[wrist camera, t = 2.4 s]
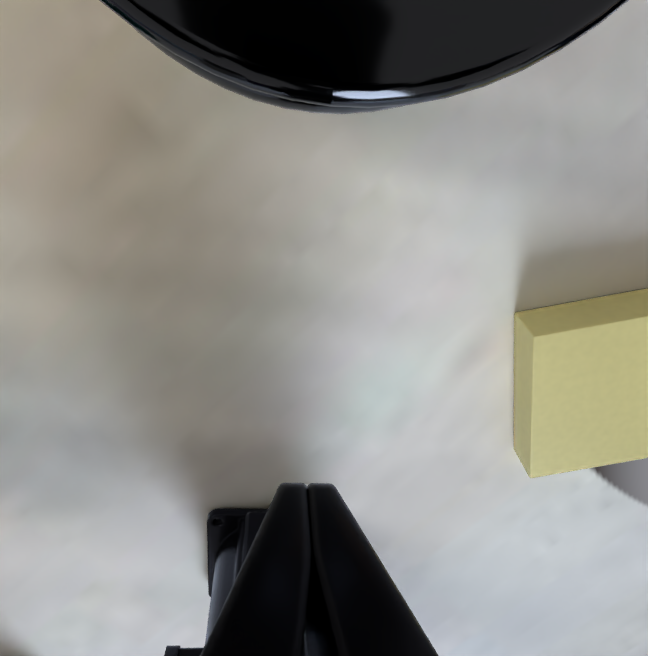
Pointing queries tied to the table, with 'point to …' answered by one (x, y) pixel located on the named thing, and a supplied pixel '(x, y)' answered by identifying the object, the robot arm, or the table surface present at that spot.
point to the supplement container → (359, 45)
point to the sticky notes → (581, 384)
